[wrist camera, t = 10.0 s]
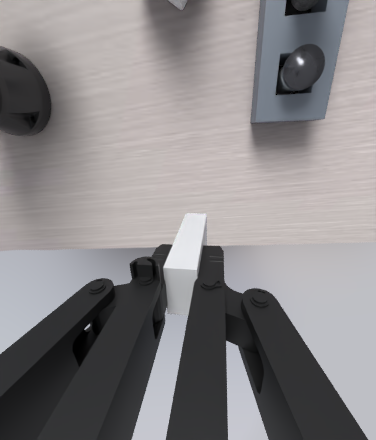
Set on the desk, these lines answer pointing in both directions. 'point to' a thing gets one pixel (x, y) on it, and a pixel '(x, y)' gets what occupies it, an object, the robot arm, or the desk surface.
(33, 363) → the robot arm
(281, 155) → the desk surface
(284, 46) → the mount
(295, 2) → the knob ivory
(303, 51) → the knob black
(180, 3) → the container
